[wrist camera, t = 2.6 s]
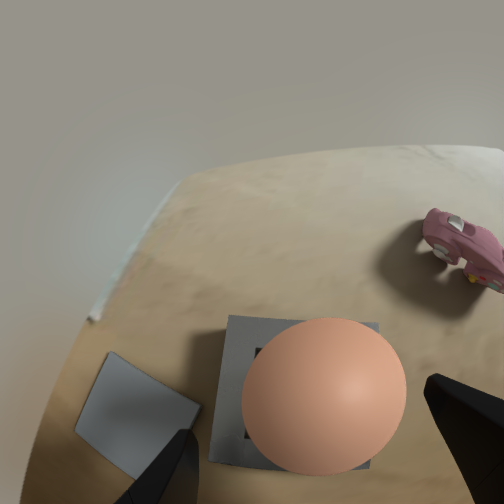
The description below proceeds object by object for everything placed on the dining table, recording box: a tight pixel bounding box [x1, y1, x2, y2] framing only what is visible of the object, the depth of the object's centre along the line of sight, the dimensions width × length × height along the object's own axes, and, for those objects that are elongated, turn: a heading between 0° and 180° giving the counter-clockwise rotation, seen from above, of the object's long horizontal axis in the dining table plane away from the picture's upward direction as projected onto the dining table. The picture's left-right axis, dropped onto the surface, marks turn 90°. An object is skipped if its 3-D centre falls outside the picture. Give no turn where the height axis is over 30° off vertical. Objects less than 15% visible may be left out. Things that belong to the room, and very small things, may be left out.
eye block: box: [208, 315, 379, 471], centre depth 14 cm, size 9×9×3 cm
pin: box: [241, 318, 406, 476], centre depth 11 cm, size 4×4×12 cm
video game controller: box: [422, 208, 504, 294], centre depth 17 cm, size 10×5×7 cm, turn 53°
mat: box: [74, 351, 202, 480], centre depth 15 cm, size 8×8×1 cm
